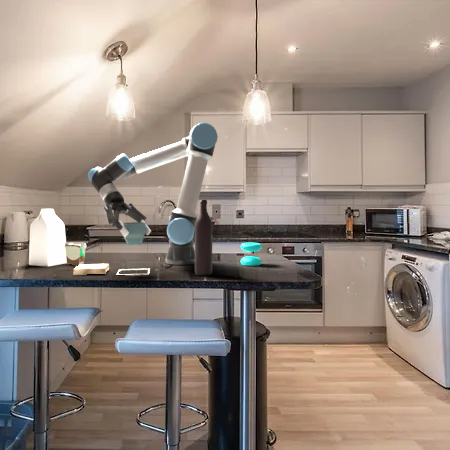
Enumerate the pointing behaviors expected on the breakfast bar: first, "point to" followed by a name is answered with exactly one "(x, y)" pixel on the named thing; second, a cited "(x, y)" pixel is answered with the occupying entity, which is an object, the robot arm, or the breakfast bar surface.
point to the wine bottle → (203, 241)
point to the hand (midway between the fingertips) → (138, 234)
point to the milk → (47, 240)
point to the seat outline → (133, 274)
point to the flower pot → (135, 233)
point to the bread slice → (91, 269)
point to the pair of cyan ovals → (250, 259)
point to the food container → (75, 252)
